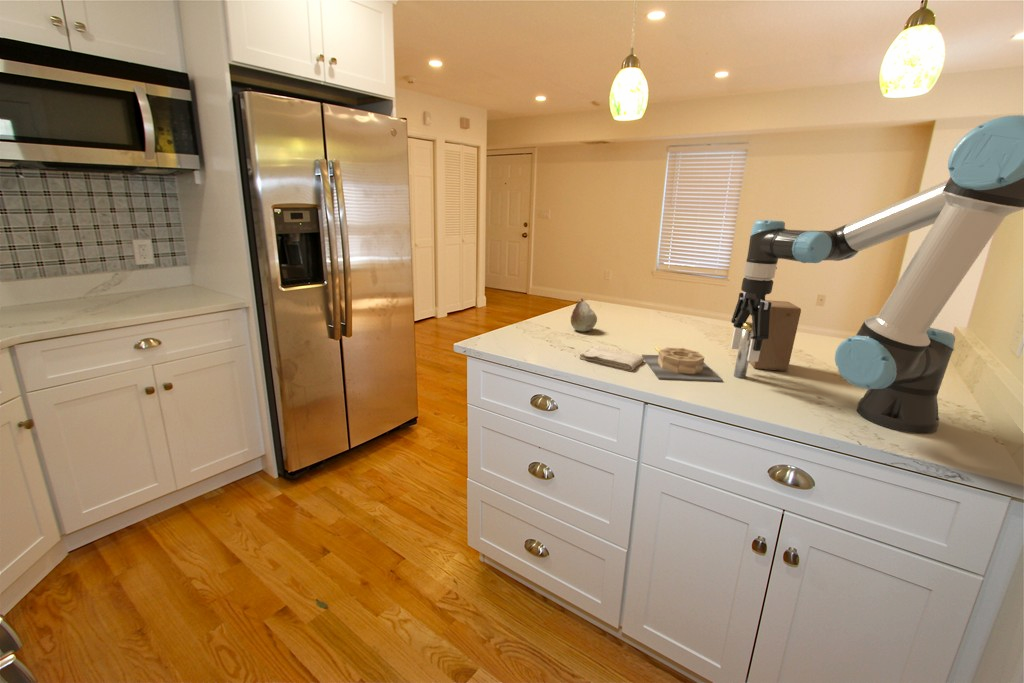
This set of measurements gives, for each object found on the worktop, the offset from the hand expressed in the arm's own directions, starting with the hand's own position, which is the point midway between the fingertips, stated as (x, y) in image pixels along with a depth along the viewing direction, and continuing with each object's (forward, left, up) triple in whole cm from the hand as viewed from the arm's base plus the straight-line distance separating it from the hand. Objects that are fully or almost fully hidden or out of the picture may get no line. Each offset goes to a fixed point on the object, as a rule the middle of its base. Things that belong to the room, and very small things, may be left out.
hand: (743, 354), depth 132 cm
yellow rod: (+20, +18, -7) cm, 28 cm away
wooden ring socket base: (+5, +16, -7) cm, 18 cm away
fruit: (+44, +41, -7) cm, 60 cm away
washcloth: (+10, +36, -8) cm, 38 cm away
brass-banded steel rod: (0, 0, -7) cm, 7 cm away
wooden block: (+11, -13, -7) cm, 18 cm away
